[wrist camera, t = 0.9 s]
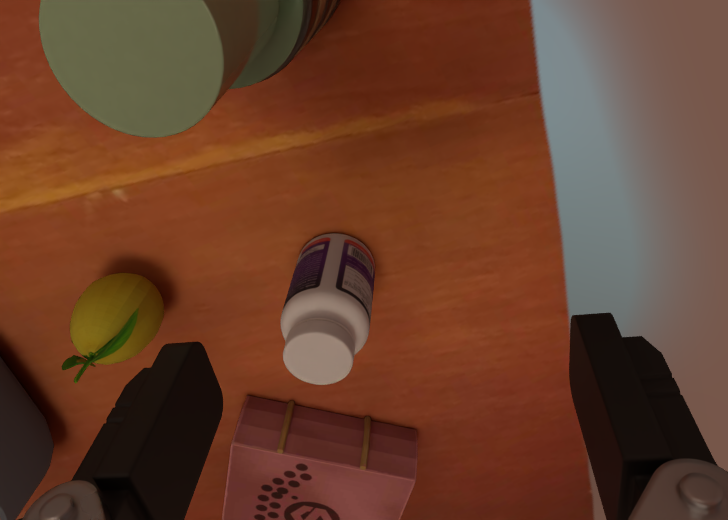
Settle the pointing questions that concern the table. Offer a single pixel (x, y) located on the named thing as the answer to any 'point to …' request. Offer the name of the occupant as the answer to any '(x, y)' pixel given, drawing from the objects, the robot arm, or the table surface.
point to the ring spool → (164, 55)
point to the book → (317, 465)
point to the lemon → (114, 320)
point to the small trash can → (20, 445)
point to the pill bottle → (328, 308)
